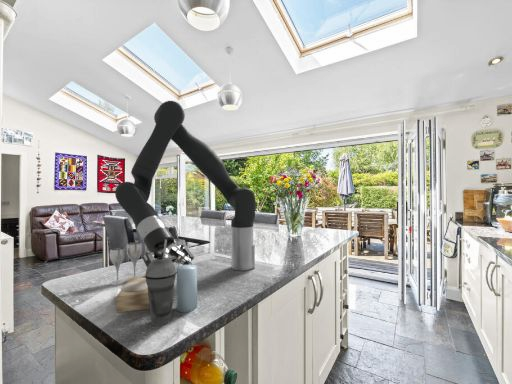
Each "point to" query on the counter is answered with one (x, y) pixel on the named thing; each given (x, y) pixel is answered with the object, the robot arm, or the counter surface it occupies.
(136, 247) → the goblet set
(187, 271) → the pale blue domed cylinder
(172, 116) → the robot arm
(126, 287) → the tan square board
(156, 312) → the beverage cup
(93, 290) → the counter surface
